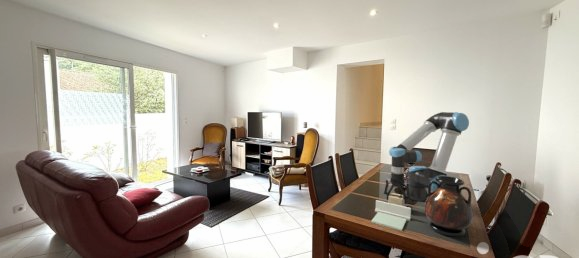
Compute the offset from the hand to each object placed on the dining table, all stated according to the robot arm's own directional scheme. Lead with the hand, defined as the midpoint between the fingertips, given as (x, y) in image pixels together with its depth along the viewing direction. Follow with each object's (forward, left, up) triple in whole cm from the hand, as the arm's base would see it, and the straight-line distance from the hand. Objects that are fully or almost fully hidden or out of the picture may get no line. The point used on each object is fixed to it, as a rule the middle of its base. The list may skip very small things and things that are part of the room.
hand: (396, 206), depth 152 cm
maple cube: (0, 0, -1) cm, 1 cm away
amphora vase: (-18, +24, -2) cm, 30 cm away
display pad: (+10, +18, -1) cm, 21 cm away
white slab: (+5, +9, -1) cm, 10 cm away
